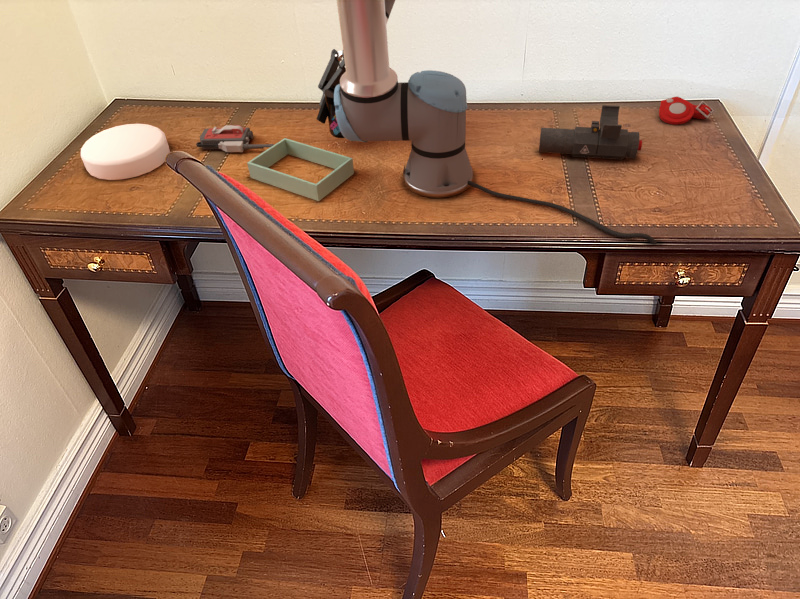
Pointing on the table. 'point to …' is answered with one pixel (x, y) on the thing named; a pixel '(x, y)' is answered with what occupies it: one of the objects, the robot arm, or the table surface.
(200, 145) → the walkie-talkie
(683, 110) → the tracker holder
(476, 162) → the table surface
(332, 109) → the supplement container
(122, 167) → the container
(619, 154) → the laser sight
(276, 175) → the rectangular frame
